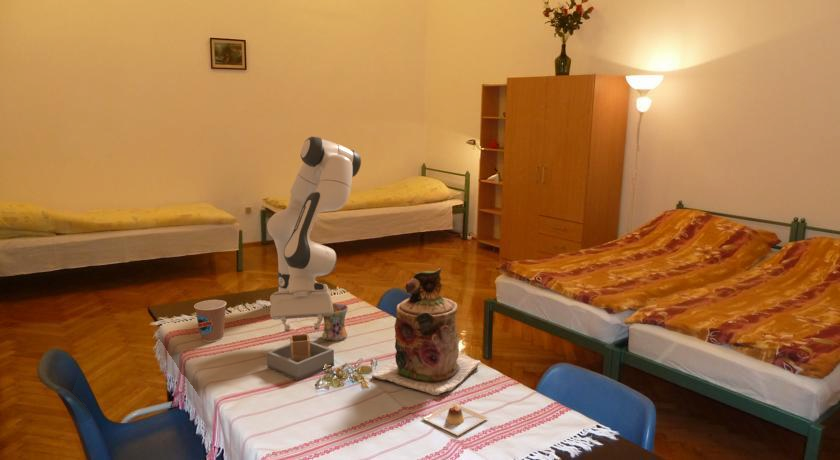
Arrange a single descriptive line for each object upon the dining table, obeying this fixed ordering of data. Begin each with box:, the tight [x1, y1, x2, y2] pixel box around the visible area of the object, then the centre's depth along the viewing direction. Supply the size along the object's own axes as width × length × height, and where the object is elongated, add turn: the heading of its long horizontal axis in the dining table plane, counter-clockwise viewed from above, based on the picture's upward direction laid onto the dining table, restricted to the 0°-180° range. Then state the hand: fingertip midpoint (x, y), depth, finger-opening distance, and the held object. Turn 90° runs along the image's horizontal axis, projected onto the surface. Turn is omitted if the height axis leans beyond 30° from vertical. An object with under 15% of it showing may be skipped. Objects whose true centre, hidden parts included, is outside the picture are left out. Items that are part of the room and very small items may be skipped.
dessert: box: [421, 401, 489, 437], centre depth 151 cm, size 12×12×5 cm
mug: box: [321, 303, 349, 342], centre depth 206 cm, size 12×9×11 cm
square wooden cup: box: [289, 333, 311, 362], centre depth 182 cm, size 6×6×8 cm
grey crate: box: [266, 341, 335, 382], centre depth 182 cm, size 14×14×5 cm
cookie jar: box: [371, 268, 481, 396], centre depth 175 cm, size 25×25×32 cm
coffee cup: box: [193, 299, 228, 343], centre depth 204 cm, size 10×10×12 cm
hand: (301, 330), depth 195 cm, fingers open, 8 cm apart
